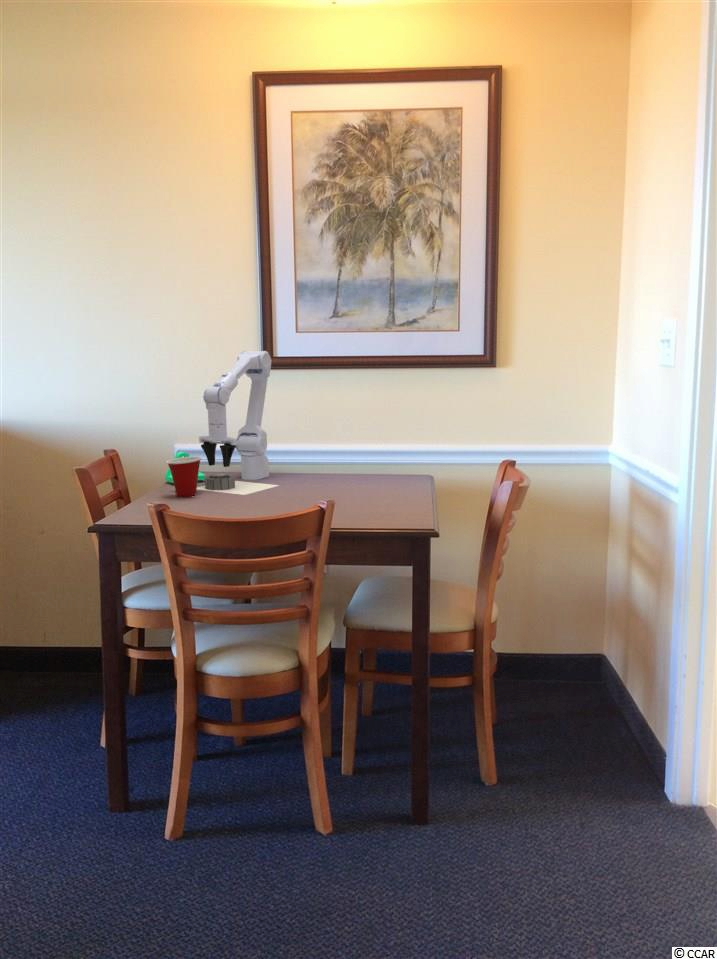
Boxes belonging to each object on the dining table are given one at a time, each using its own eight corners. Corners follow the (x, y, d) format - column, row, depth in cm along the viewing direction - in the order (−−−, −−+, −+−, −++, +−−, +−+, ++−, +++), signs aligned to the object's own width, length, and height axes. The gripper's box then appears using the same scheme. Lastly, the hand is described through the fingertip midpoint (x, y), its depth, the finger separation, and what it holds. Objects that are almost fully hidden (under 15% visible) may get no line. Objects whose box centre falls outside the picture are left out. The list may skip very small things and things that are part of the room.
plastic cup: (170, 493, 279) (168, 456, 276) (204, 492, 280) (202, 455, 277) (165, 500, 268) (163, 461, 266) (201, 498, 269) (199, 460, 267)
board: (227, 482, 297) (227, 469, 296) (279, 487, 285) (279, 474, 284) (191, 491, 282) (190, 478, 281) (244, 497, 270) (244, 483, 269)
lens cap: (219, 485, 286) (219, 472, 286) (231, 487, 284) (230, 474, 283) (209, 488, 282) (208, 475, 282) (220, 489, 280) (219, 476, 279)
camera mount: (173, 486, 292) (171, 455, 290) (165, 483, 298) (163, 453, 296) (206, 482, 298) (205, 452, 296) (198, 479, 304) (197, 450, 303)
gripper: (191, 424, 280) (193, 466, 282) (226, 426, 272) (228, 469, 274) (206, 421, 286) (208, 462, 288) (241, 424, 278) (242, 466, 280)
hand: (219, 465), depth 282 cm, fingers open, 6 cm apart
